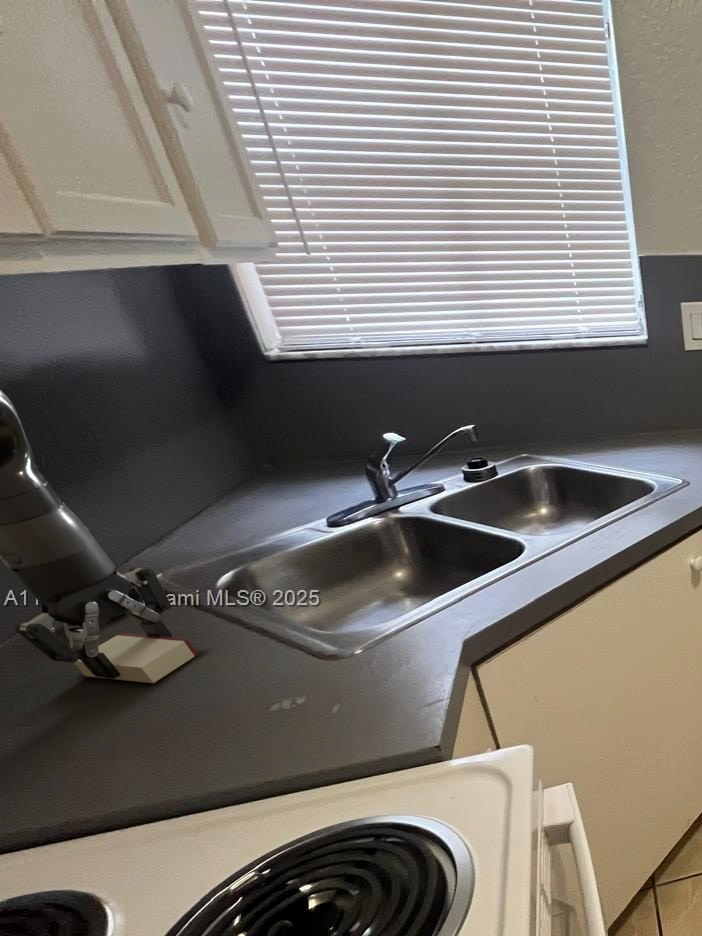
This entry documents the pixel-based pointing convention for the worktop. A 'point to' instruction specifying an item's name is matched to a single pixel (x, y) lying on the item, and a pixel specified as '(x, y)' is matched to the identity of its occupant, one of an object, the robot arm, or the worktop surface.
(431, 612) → the worktop surface
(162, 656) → the pocket book
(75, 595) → the robot arm
